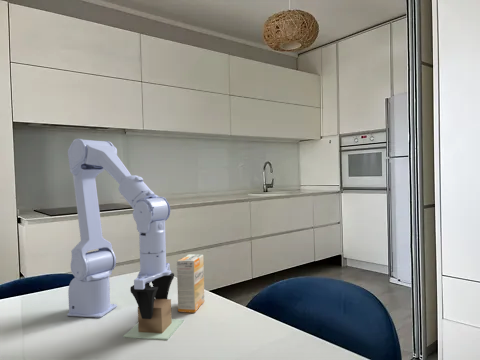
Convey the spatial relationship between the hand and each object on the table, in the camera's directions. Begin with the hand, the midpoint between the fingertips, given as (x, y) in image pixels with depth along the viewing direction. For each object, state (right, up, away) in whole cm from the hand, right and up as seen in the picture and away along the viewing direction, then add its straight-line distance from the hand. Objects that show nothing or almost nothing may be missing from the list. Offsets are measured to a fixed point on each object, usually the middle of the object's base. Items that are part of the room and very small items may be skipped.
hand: (154, 311), depth 80 cm
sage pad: (0, -4, 0) cm, 4 cm away
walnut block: (0, -4, 0) cm, 4 cm away
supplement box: (+7, -4, +13) cm, 15 cm away
